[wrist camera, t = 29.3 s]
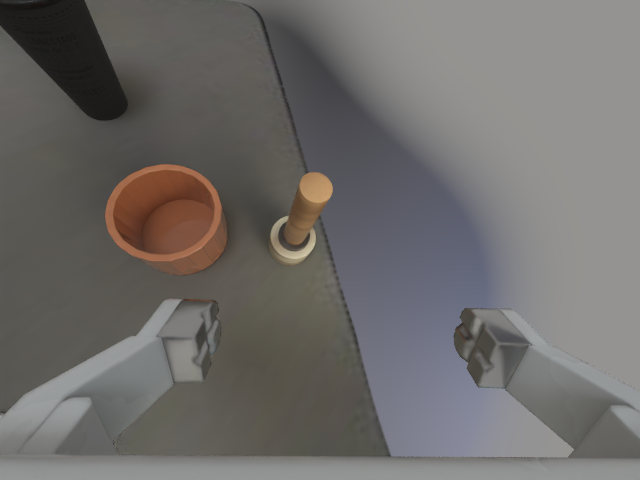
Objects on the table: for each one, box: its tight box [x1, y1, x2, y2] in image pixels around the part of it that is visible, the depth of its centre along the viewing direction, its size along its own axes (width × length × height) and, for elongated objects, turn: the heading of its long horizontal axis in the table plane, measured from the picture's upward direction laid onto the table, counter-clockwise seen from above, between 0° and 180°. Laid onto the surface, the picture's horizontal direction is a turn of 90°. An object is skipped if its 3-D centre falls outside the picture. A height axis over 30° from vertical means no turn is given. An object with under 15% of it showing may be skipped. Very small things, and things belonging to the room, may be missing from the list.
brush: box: [269, 172, 333, 265], centre depth 26 cm, size 5×5×15 cm
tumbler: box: [105, 164, 228, 275], centre depth 27 cm, size 9×9×7 cm
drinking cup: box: [0, 0, 127, 120], centre depth 23 cm, size 8×8×20 cm
